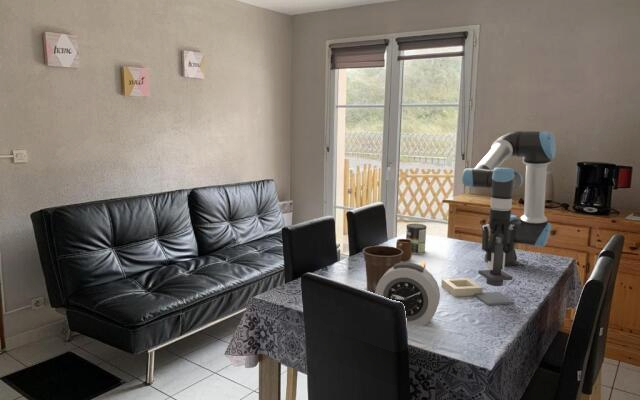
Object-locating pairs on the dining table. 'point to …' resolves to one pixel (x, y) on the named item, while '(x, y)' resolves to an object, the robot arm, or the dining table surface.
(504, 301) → the mat
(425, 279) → the alarm clock
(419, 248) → the coffee can
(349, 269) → the dining table surface
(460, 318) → the dining table surface
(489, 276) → the plug
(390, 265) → the plant pot
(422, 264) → the orange lever handle
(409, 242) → the mug
